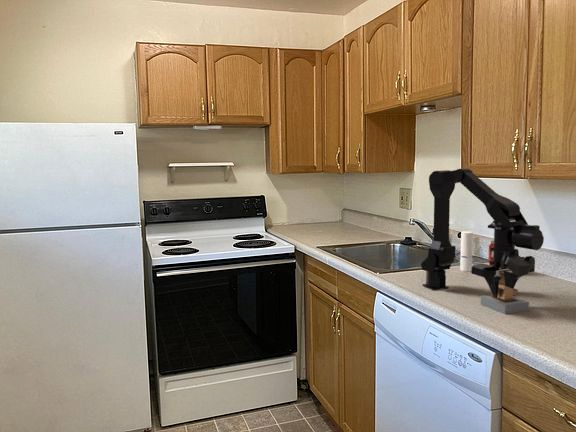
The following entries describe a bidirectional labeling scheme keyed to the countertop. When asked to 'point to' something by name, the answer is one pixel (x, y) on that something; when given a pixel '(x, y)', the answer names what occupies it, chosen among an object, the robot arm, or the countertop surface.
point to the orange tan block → (504, 294)
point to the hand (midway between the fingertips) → (502, 296)
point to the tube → (466, 251)
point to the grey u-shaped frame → (505, 305)
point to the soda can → (490, 253)
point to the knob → (504, 282)
